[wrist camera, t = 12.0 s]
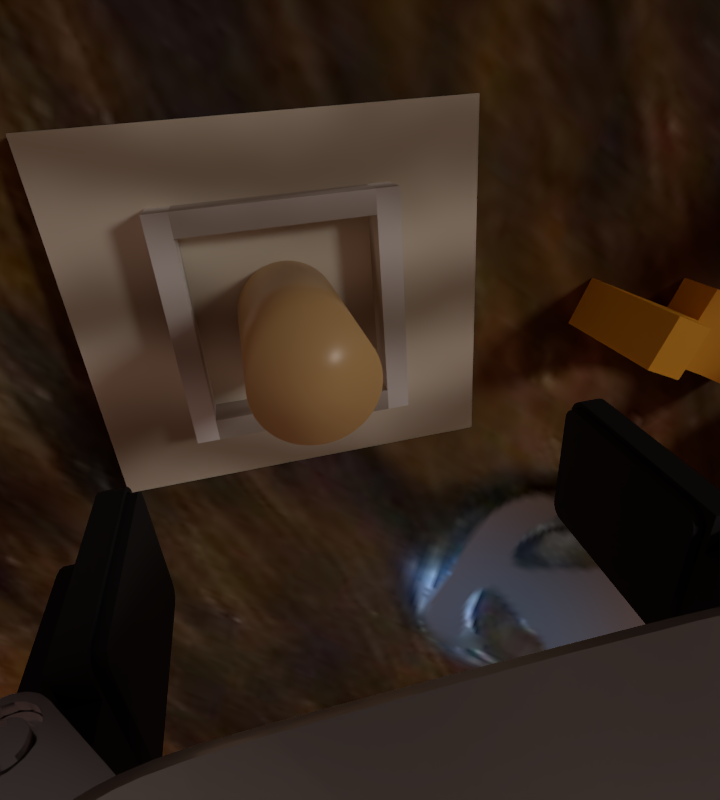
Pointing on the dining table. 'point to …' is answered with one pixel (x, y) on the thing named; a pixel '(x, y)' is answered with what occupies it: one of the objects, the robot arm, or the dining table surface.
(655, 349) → the orange blocky piece
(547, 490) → the dining table surface
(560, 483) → the robot arm
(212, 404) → the grey square framed plate
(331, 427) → the tan rounded oblong piece
